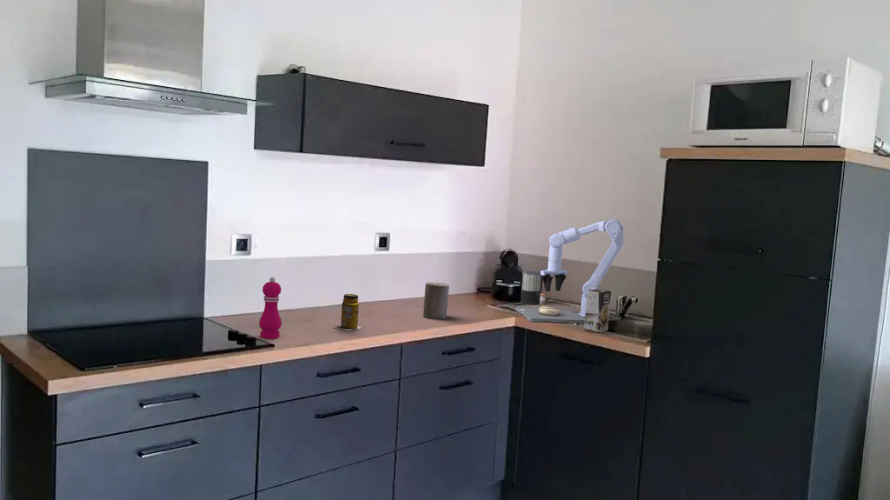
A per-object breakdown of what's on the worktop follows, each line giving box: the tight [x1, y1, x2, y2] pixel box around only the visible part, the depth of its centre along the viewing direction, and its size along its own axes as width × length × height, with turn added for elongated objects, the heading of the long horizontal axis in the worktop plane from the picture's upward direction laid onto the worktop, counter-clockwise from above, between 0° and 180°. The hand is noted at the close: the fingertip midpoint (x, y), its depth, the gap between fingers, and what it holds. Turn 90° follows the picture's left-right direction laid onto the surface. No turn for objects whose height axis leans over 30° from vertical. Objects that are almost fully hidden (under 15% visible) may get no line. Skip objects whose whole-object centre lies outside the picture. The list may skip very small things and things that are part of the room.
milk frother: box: [519, 270, 544, 305], centre depth 347 cm, size 14×16×15 cm
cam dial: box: [538, 293, 561, 315], centre depth 312 cm, size 16×9×7 cm, turn 9°
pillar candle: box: [422, 280, 450, 320], centre depth 293 cm, size 10×10×15 cm
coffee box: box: [583, 288, 612, 333], centre depth 287 cm, size 9×6×16 cm
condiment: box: [332, 293, 363, 332], centre depth 262 cm, size 7×8×12 cm
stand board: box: [515, 307, 585, 324], centre depth 310 cm, size 24×24×2 cm
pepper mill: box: [258, 276, 282, 340], centre depth 239 cm, size 7×7×20 cm
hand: (552, 291), depth 322 cm, fingers open, 6 cm apart
